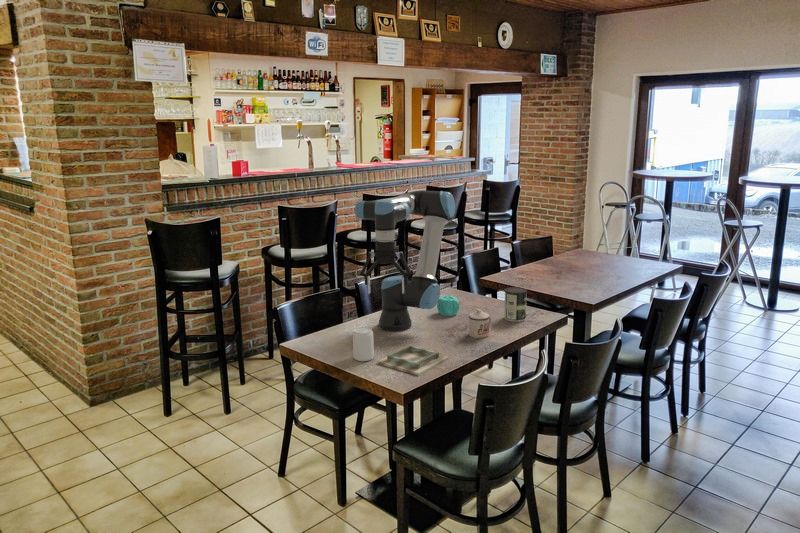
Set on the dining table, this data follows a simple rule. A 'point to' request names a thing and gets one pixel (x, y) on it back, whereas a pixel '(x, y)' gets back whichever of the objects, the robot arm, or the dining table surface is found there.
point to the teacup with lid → (479, 324)
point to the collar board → (413, 360)
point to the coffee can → (515, 304)
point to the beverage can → (363, 344)
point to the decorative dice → (448, 306)
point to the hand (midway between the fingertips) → (386, 292)
